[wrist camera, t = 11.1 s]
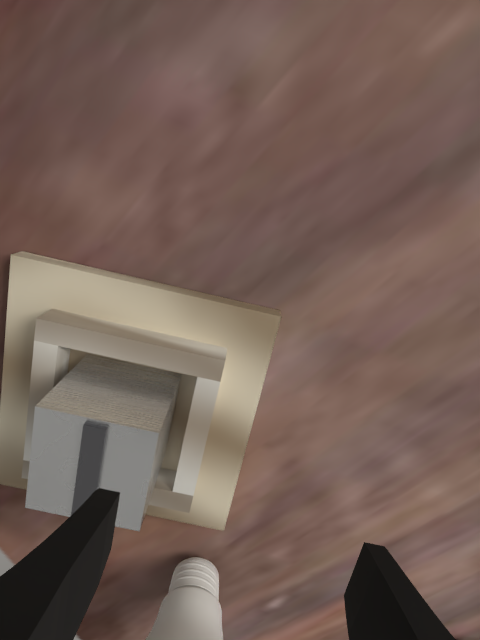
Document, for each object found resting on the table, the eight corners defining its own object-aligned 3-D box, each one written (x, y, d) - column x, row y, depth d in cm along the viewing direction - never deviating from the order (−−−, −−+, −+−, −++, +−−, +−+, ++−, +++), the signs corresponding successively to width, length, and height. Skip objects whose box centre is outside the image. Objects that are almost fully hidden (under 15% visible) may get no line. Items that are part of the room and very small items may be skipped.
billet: (165, 454, 21) (138, 535, 16) (76, 435, 21) (22, 511, 16) (181, 374, 20) (157, 436, 15) (87, 353, 20) (32, 409, 15)
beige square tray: (224, 516, 23) (221, 554, 21) (5, 470, 23) (-24, 503, 21) (280, 310, 20) (283, 327, 18) (22, 251, 20) (-10, 260, 17)
